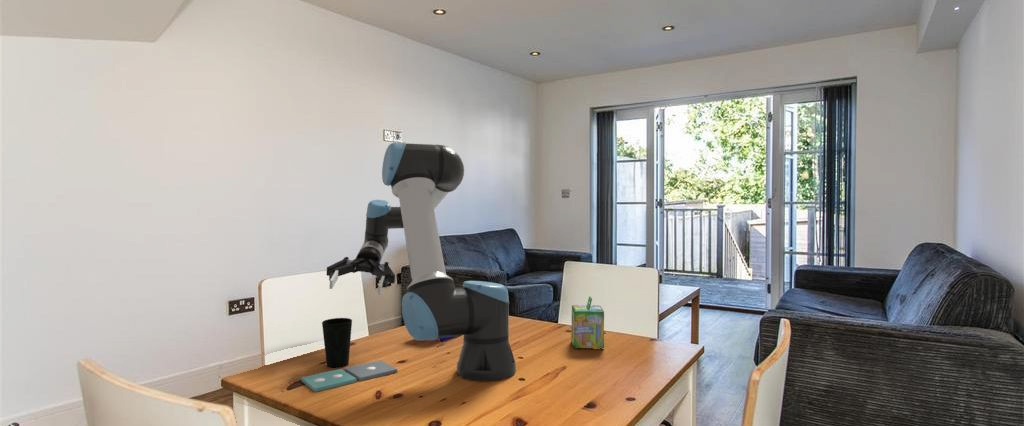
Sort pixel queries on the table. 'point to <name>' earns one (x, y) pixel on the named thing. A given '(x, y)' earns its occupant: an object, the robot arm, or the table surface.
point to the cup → (337, 341)
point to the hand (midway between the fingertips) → (355, 287)
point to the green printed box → (587, 326)
